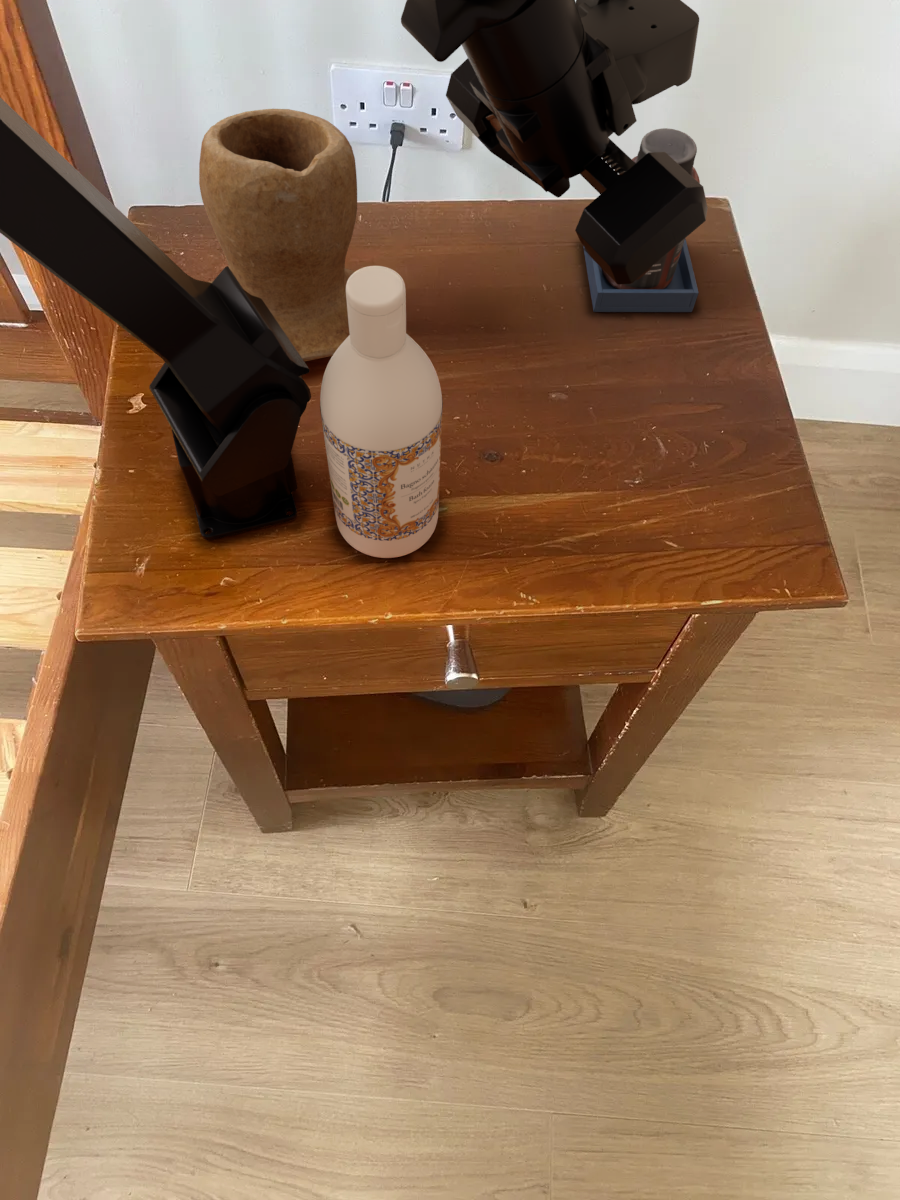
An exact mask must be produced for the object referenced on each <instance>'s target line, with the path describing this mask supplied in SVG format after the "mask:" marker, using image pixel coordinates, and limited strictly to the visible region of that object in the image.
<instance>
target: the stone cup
mask: <svg viewBox="0 0 900 1200" xmlns="http://www.w3.org/2000/svg"><path fill="white" fill-rule="evenodd" d="M198 165H199V169H198V185H199V192H200V197H201V201H202V204H203V207H204V209H205V213H206V215H207V218H208V220H209V223H210V225H211V228H212V230H213V232H214V234H215V237H216V240H217V242H218V244H219V246H220V248H221V251H222V253H223V255H224V257H225V260H226V263H227V266H228V267H229V268H230V270H231V271H232V273H233V274H234V276H235V277H236V279H237V280H238V282H239V283H240V285H241V286H242V288H243V289H244V290H245V291H246V292H248V293H249V294H250V295H253V296H256V297H258V298H261V299H262V300H263V302H264V303H265V304H266V306H267V307H268V309H269V310H270V312H271V313H272V315H273V316H274V318H275V319H276V321H277V322H278V324H279V325H280V326H281V328H282V329H283V331H284V332H285V334H286V335H287V337H288V338H289V340H290V341H291V343H292V344H293V346H294V347H295V349H296V350H297V351H298V353H299V354H300V356H301V357H302V359H303V360H304V362H305V363H306V362H309V361H314V360H318V359H324V358H329V357H330V358H331V357H332V356H333V354H334V353H335V351H336V350H337V349H338V347H339V346H340V345H341V344H342V343H343V342H344V340H345V339H346V338H347V337H348V336H349V335H350V332H349V323H348V312H347V300H346V284H347V281H348V279H349V277H350V276H351V275H352V274H353V273H354V272H355V271H356V270H352V269H349V268H346V258H347V254H348V250H349V246H350V245H351V241H352V238H353V234H354V229H355V226H356V221H357V213H358V177H357V166H356V158H355V154H354V150H353V147H352V145H351V143H350V141H349V140H348V138H347V136H346V135H345V134H344V133H343V132H342V131H341V130H340V129H339V128H338V127H337V126H335V125H334V123H331V122H330V121H328V120H327V119H325V118H322V117H320V116H318V115H314V114H310V113H308V112H304V111H300V110H294V109H290V108H264V109H255V110H249V111H244V112H243V111H242V112H240V113H236V114H232V115H229V116H226V117H224V118H223V119H220V120H219V121H217V122H216V123H215V124H213V125H211V126H210V128H209V129H208V130H207V131H206V132H205V134H204V136H203V138H202V141H201V146H200V155H199V163H198ZM213 281H214V280H212V281H209V282H210V283H212V282H213Z"/></svg>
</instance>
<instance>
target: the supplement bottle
mask: <svg viewBox="0 0 900 1200" xmlns="http://www.w3.org/2000/svg"><path fill="white" fill-rule="evenodd" d="M649 152H666V153H667V154H668V155H669V156H670V157H671V158H672V159H673V160H674V161H676V162H677V163H678V164H679V165H680V166H681V167H682V168H683V169H684V170H685V171H687V172H688V173H689V174H690V175H691V176H692V177H693V178H694V179H695V180H696V181H698V182H699V183H700V184H701V180H700V176H699V174H698V172H697V169H696V168H695V167H694V164H695V159H696V155H697V153H698V147H697V143H696V142H695V140H694V139H693V138H692V137H691V136H690V135H688V134H687V133H685V132H683V131H681V130H678V129H674V128H668V127H667V128H665V127H663V128H657V129H656V128H655V129H653V130H650V131H649V132H647V133H646V134H644V136H643V137H642V139H641V141H640V144H639V151H638V152H637V155H636V156H634V157H633V158H631V159H632V160H633V161H634V162H635V163H637V162H638V161H639V160H640V159H642V158H643V157H644V156H645V155H646V154H647V153H649ZM685 239H686V238H685ZM685 239H684V240H682V241H681V242H680V243H679V244H678V245H676V246H675V247H674V248H673V249H672V250H671V251H669V252H668V253H667V254H666V255H665V256H663V257H662V258H661V259H660V260H659V261H658V262H656V263H655V264H654V265H653V266H652V267H651V269H650V270H649V271H648V272H647V273H646V274H645V275H643V276H642V277H641V278H640V279H638V280H637V279H636V280H635V281H634V282H633V283H632V284H617V283H616V282H615V281H614V280H613V279H612V278H611V277H610V276H609V275H608V274H607V273H606V272H605V271H604V270H603V269H602V271H603V274H604V276H605V278H606V279H607V281H608V282H609V283H610V284H611V285H612V286H613V287H615V288H617V289H665V288H666V287H667V286H668V285H669V284H670V282H671V280H672V278H673V276H674V273H675V270H676V267H677V264H678V260H679V258H680V253H681V250H682V247H683V244H684V241H685Z"/></svg>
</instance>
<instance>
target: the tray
mask: <svg viewBox="0 0 900 1200" xmlns="http://www.w3.org/2000/svg"><path fill="white" fill-rule="evenodd" d="M582 248H583V254H584V259H585V266H586V273H587V279H588V285H589V292H590V298H591V304H592V305H591V306H592V310H593V312H594V313H692V312H693V310H694V307H695V305H696V301H697V299H698V297H699V288H698V285H697V281H696V276H695V272H694V268H693V263H692V260H691V256H690V255H691V254H690V251H689V247H688V244H687V239H686V238H685V241H684V244H683V247H682V250H681V253H680V258H679V260H678V264H677V267H676V270H675V273H674V276H673V278H672V280H671V282H670V284H669V285H668V286H667V287H666V288H665V289H617V288H615V287H613V286H612V285H611V284H610V283H609V282H608V281H607V279H606V278H605V276H604V274H603V271H602V268H601V267H600V266H599V265H598V264H597V263H596V262H595V261H594V260H593V259H592V258H591V257H590V256H589V255H588V254H587V253H586V251H585V250H584V248H585V247H584V246H583V245H582Z"/></svg>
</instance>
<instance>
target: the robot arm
mask: <svg viewBox="0 0 900 1200" xmlns="http://www.w3.org/2000/svg"><path fill="white" fill-rule="evenodd" d="M400 24H401V25H402V27H403V28H404V29H405V30H406V31H407V32H408V33H409V35H411V36H412V37H413V38H414V39H415V40H416V42H418V43H419V44H420V45H421V47H423V49H424V50H425V51H426V52H427V53H428V54H429V55H430V56H431V57H432V58H433V59H434V60H436V62H438V63H443V62H445V61H446V60H447V59H449V58H450V57H451V56H452V55H453V54H454V53H455V52H456V51H457V50H458V49H459V48H460V47H462V49H463V51H464V53H465V55H466V57H467V58H466V59H465V60H464V61H463V62H462V63H461V64H460V65H459V66H457V68H455V70H453V72H452V73H451V74H450V78H449V81H448V85H447V89H446V92H445V97H446V99H447V100H448V102H449V104H450V106H451V107H452V110H453V111H454V113H455V115H456V117H457V118H458V119H459V120H460V121H461V122H462V123H463V125H465V127H467V129H468V130H470V132H471V133H472V134H473V135H474V136H475V137H476V138H477V139H478V141H480V142H481V144H482V145H483V146H484V147H485V148H486V149H487V150H488V151H489V152H490V153H492V154H493V155H494V156H496V157H497V158H499V159H500V160H501V161H503V162H504V163H506V164H507V165H509V166H510V167H512V168H513V169H515V170H516V171H518V172H519V173H521V174H522V175H523V176H525V177H526V178H527V179H529V180H530V181H532V182H534V183H535V184H536V185H538V186H539V187H540V188H542V189H543V191H545V193H550V194H551V195H553V196H554V197H556V198H561V197H562V196H564V195H565V193H566V192H567V191H569V189H570V188H571V182H570V179H571V178H574V177H576V176H579V175H580V176H581V177H582V178H583V179H584V180H586V182H587V183H588V184H589V185H590V186H591V187H592V188H593V189H594V190H595V191H596V192H597V193H598V194H599V195H598V196H597V197H596V198H595V199H594V200H592V201H591V202H590V203H589V204H588V205H587V206H586V207H584V208H583V210H582V213H581V215H580V218H579V220H578V222H577V224H576V226H575V230H574V231H575V233H576V235H577V238H578V240H579V242H580V243H581V245H582V247H583V246H584V247H585V248H583V251H584V250H585V251H586V253H587V254H588V255H589V256H590V257H591V258H592V259H593V260H594V261H595V262H596V263H597V264H598V265H599V266H600V267H601V268H602V269H603V270H604V271H605V272H606V273H607V274H608V275H609V276H610V277H611V278H612V279H613V280H614V281H615V282H616V283H617V284H632V283H633V282H634V281H635V280H636V279H637V280H638V279H640V278H641V277H642V276H643V275H645V274H646V273H647V272H648V271H649V270H650V269H651V267H652V266H653V265H654V264H655V263H656V262H658V261H659V260H660V259H661V258H662V257H663V256H665V255H666V254H667V253H668V252H669V251H671V250H672V249H673V248H674V247H675V246H676V245H678V244H679V243H680V242H681V241H682V240H684V239H686V238H687V237H688V236H690V235H691V234H692V233H693V232H694V231H696V230H697V229H698V228H699V227H700V226H702V225H703V224H704V223H705V222H706V221H707V216H708V215H707V214H708V208H709V207H708V202H707V197H706V193H705V189H704V185H702V183H701V182H700V183H699V182H698V181H696V180H695V179H694V178H693V177H692V176H691V175H690V174H689V173H688V172H687V171H685V170H684V169H683V168H682V167H681V166H680V165H679V164H678V163H677V162H676V161H674V160H673V159H672V158H671V157H670V156H669V155H668V154H667V153H666V152H649V153H647V154H646V155H645V156H644V157H643V158H642V159H640V160H639V161H638V162H637V163H635V162H634V161H633V160H632V159H633V158H631V157H630V156H629V155H628V154H627V153H625V151H623V150H622V149H621V147H619V146H618V145H617V144H616V143H615V141H613V140H612V139H611V138H610V136H612V135H613V134H615V135H616V136H617V137H620V136H622V135H623V134H624V133H625V132H626V131H627V130H629V128H631V127H632V126H633V125H634V124H635V123H636V122H637V117H636V114H635V111H634V107H633V105H639V104H641V103H643V102H646V101H647V100H649V99H651V98H653V97H655V96H657V95H658V94H660V93H662V92H664V91H667V90H668V89H670V88H672V87H674V86H676V87H680V86H682V85H684V84H685V83H686V82H688V81H690V79H691V77H692V73H693V66H694V60H695V59H694V58H695V53H696V52H695V51H696V45H697V39H698V31H699V25H700V16H699V14H698V13H697V11H695V10H694V9H692V7H690V6H689V5H687V4H686V3H685V2H684V1H682V0H406V1H405V3H404V8H403V11H402V13H401V16H400ZM0 234H1V235H2V236H4V237H5V238H6V239H8V240H9V241H10V242H11V243H13V244H14V245H15V246H17V247H18V248H19V249H21V250H22V251H23V252H24V253H26V254H27V255H28V256H29V257H31V258H32V259H33V260H34V261H35V262H37V264H40V266H42V267H43V268H45V269H46V270H47V271H49V272H50V273H51V274H53V275H54V276H55V277H56V278H58V279H59V280H60V281H62V282H63V283H64V284H65V285H67V286H68V287H69V288H71V289H72V290H73V291H74V292H76V293H77V294H78V295H79V296H80V297H82V298H83V299H84V300H86V301H87V302H88V303H89V304H91V305H92V306H94V307H95V308H96V309H98V311H100V312H101V313H103V314H104V315H105V316H107V317H108V318H109V319H110V320H112V321H113V322H114V323H115V324H116V325H118V326H120V327H121V328H122V329H123V330H124V331H126V332H127V333H129V334H130V335H131V336H132V337H134V338H135V339H136V340H137V341H139V342H140V343H141V344H142V345H144V346H145V347H146V348H148V349H149V350H150V351H152V352H153V353H154V354H155V355H156V356H158V357H159V358H161V360H163V362H164V363H163V364H162V365H161V367H160V369H159V370H158V372H157V373H156V375H155V377H154V378H153V379H152V380H151V383H150V384H149V387H148V389H149V391H150V392H151V394H152V396H153V398H154V400H155V401H156V403H157V405H158V407H159V408H160V410H161V412H162V414H163V416H164V417H165V419H166V421H167V422H168V424H169V426H170V428H171V432H172V437H173V442H174V446H175V452H176V456H177V461H178V465H179V467H180V469H181V472H182V475H183V478H184V481H185V483H186V486H187V488H188V491H189V493H190V497H191V499H192V502H193V505H194V511H195V515H196V519H197V522H198V523H197V524H198V528H199V532H200V535H201V537H202V539H203V540H205V541H214V540H218V539H222V538H226V537H229V536H234V535H239V534H242V533H243V534H244V533H246V532H250V531H255V530H258V529H259V530H260V529H264V528H267V527H272V526H276V525H280V524H283V523H288V522H292V521H294V520H296V519H297V518H298V516H299V515H298V508H297V505H296V502H295V498H294V495H293V493H295V492H297V491H298V489H299V487H298V485H299V484H298V480H297V476H296V471H295V466H294V461H293V455H292V450H293V447H294V444H295V439H296V436H297V432H298V429H299V425H300V422H301V418H302V416H303V414H304V413H305V411H306V409H307V406H308V403H309V402H310V401H311V399H312V392H311V389H310V387H309V386H308V384H307V383H306V381H305V380H304V378H303V377H302V376H305V375H307V374H309V373H310V372H311V369H310V367H309V366H308V364H307V363H306V361H305V362H304V360H303V359H302V357H301V356H300V354H299V353H298V351H297V350H296V349H295V347H294V346H293V344H292V343H291V341H290V340H289V338H288V337H287V335H286V334H285V332H284V331H283V329H282V328H281V326H280V325H279V324H278V322H277V321H276V319H275V318H274V316H273V315H272V313H271V312H270V310H269V309H268V307H267V306H266V304H265V303H264V302H263V300H262V299H261V298H258V297H256V296H253V295H250V294H249V293H248V292H246V291H245V290H244V289H243V288H242V286H241V285H240V283H239V282H238V280H237V279H236V277H235V276H234V274H233V273H232V271H231V270H230V268H229V267H228V265H227V266H225V267H224V268H223V269H221V271H220V273H218V275H217V276H216V277H215V278H214V279H213V280H212V281H213V282H212V283H210V282H211V281H204V280H201V279H196V278H194V277H192V276H191V275H189V274H187V273H186V272H185V271H184V270H183V269H182V268H181V267H180V266H179V265H178V264H176V262H174V261H173V260H172V258H170V257H169V256H168V255H167V254H166V253H165V252H164V251H163V249H161V248H160V247H159V246H157V245H156V244H155V243H154V242H153V241H152V239H150V238H149V237H148V236H147V235H146V234H145V233H144V232H143V231H142V230H141V229H140V228H139V227H138V226H137V225H135V223H134V222H133V221H131V220H130V218H129V217H127V216H126V215H125V214H124V213H123V212H122V211H121V210H120V209H118V207H116V206H115V204H113V203H112V202H111V201H110V200H109V199H108V198H107V197H106V196H105V195H104V194H103V193H102V192H101V191H99V189H98V188H97V187H95V185H93V184H92V183H91V182H90V180H88V179H87V178H86V177H85V176H84V175H83V174H82V173H81V172H80V171H79V170H78V169H77V168H75V166H73V165H72V164H71V162H69V161H68V160H67V159H66V158H65V157H64V156H63V155H62V154H61V153H60V152H59V151H58V150H57V149H55V148H54V147H53V146H52V145H51V144H50V143H49V142H48V141H47V140H46V139H45V138H44V137H43V136H42V135H41V134H39V132H38V131H37V130H35V129H34V128H33V127H32V126H31V125H30V124H29V123H28V122H27V121H26V120H25V119H24V118H23V117H22V116H21V115H20V114H19V113H18V112H16V110H14V109H13V108H12V107H11V106H10V105H9V103H7V102H6V101H5V100H4V99H3V98H2V97H1V96H0ZM208 532H209V533H208Z"/></svg>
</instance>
